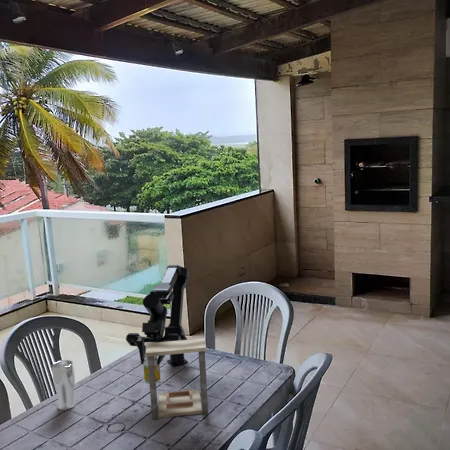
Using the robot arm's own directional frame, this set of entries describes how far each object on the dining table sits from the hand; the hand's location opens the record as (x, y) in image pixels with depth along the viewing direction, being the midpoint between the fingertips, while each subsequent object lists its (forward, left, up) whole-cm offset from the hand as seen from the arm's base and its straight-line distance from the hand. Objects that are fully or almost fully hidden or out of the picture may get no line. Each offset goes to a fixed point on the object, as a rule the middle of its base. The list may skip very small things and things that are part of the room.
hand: (150, 364), depth 163 cm
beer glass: (-16, -25, -14) cm, 33 cm away
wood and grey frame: (+8, +6, -14) cm, 17 cm away
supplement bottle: (-1, +1, -7) cm, 7 cm away
